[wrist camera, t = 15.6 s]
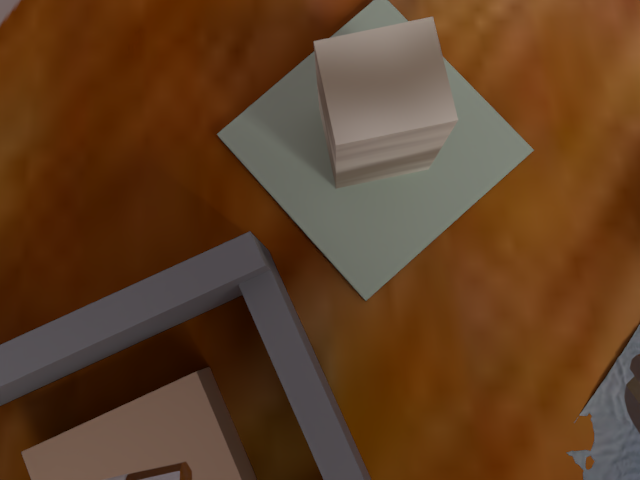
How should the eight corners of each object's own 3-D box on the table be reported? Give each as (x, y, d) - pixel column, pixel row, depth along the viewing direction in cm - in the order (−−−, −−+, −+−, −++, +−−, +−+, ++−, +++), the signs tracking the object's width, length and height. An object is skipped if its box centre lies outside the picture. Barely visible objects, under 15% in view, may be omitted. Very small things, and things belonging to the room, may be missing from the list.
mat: (530, 153, 33) (534, 150, 32) (365, 301, 32) (366, 300, 31) (380, -1, 34) (381, -7, 34) (218, 137, 33) (216, 134, 33)
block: (428, 169, 32) (458, 120, 24) (336, 188, 32) (335, 145, 24) (409, 90, 33) (432, 16, 25) (319, 108, 33) (313, 41, 25)
